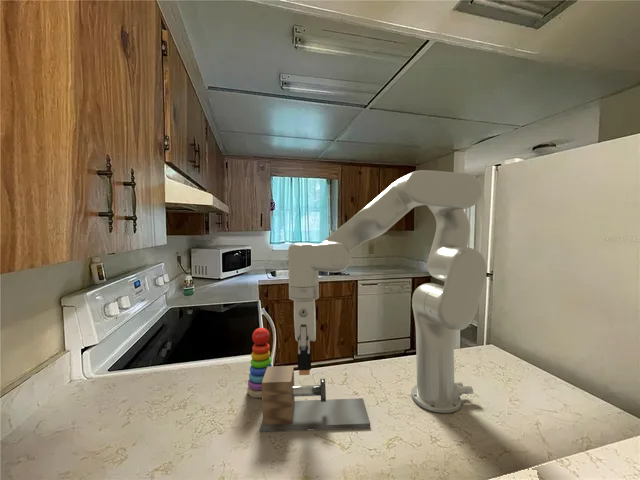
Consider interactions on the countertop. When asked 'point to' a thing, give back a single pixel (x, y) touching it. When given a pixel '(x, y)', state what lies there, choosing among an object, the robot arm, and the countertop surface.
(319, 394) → the shaft
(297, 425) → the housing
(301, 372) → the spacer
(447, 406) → the robot arm
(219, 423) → the countertop surface
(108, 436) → the countertop surface
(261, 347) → the stacking toy
